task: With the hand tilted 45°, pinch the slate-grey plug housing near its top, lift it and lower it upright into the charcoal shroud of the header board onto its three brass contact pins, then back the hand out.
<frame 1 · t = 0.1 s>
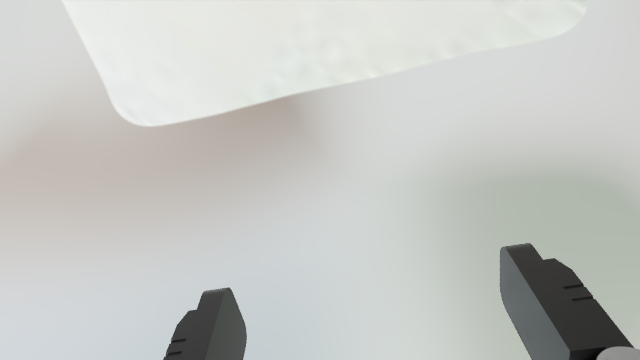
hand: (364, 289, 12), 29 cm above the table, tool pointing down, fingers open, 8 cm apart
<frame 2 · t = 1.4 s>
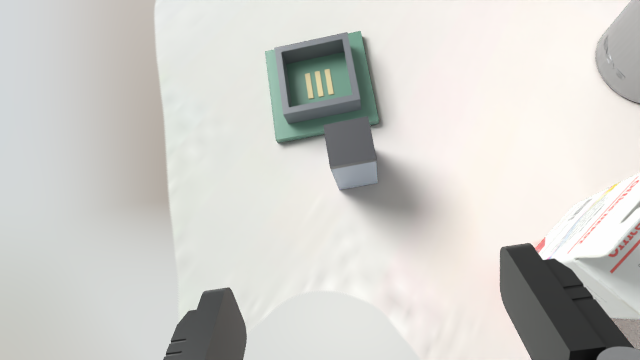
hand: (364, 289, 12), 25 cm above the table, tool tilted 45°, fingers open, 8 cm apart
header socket: (320, 88, 42), on the table
ink cartridge box: (567, 258, 35), on the table
plug housing: (355, 168, 39), on the table
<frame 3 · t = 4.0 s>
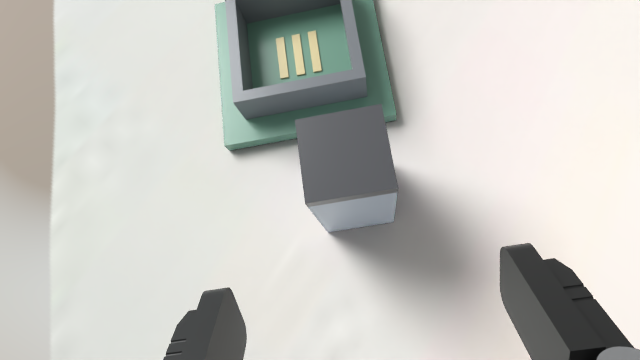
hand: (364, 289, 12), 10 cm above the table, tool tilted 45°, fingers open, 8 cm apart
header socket: (300, 62, 26), on the table
plug housing: (355, 195, 23), on the table
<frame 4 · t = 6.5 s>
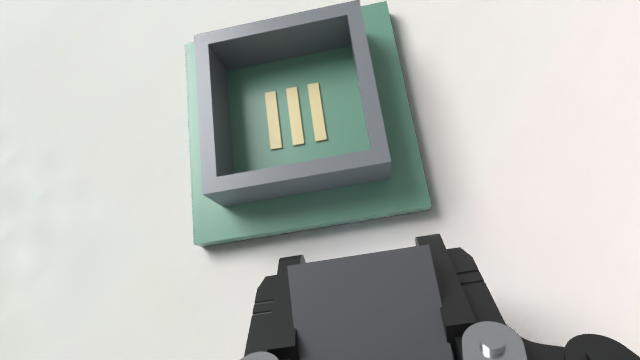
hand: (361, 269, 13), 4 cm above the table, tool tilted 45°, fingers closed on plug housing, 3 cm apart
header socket: (298, 123, 19), on the table
plug housing: (373, 319, 17), on the table, touching gripper
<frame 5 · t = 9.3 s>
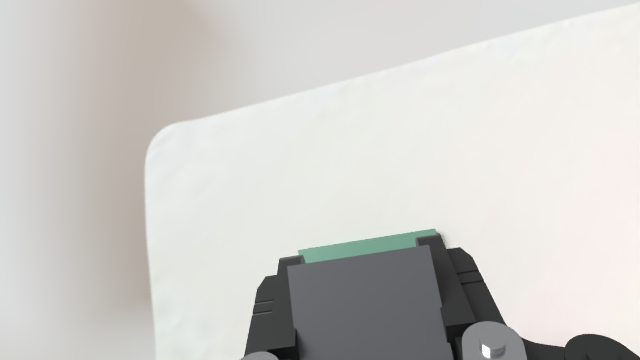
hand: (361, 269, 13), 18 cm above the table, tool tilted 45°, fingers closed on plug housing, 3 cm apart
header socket: (377, 311, 30), on the table
plug housing: (373, 319, 17), point 14 cm above the table, touching gripper
when the fingers open (6 cm above the table, at t = 12.1 s): plug housing drops 1 cm, resting on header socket.
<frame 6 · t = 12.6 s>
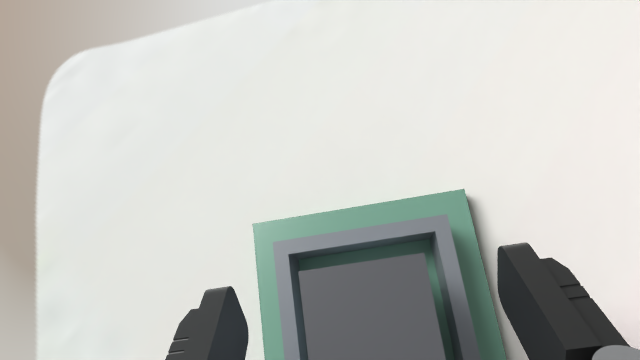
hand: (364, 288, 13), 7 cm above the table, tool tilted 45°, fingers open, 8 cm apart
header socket: (374, 317, 19), on the table
plug housing: (375, 318, 18), point 1 cm above the table, touching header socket
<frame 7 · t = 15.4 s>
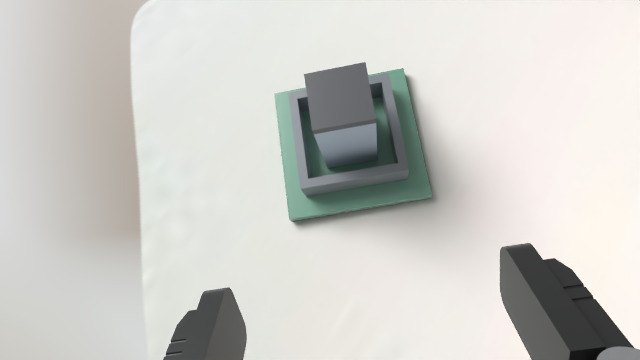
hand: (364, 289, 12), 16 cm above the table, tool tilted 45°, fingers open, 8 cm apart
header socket: (349, 145, 31), on the table
plug housing: (348, 140, 30), point 1 cm above the table, touching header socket
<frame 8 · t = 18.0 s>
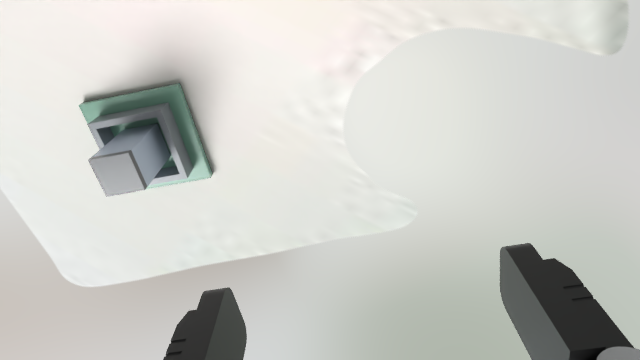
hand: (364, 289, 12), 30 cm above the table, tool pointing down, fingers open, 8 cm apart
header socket: (150, 139, 43), on the table
plug housing: (147, 143, 42), point 1 cm above the table, touching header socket
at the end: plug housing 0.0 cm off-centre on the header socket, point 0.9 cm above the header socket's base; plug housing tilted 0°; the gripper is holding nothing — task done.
